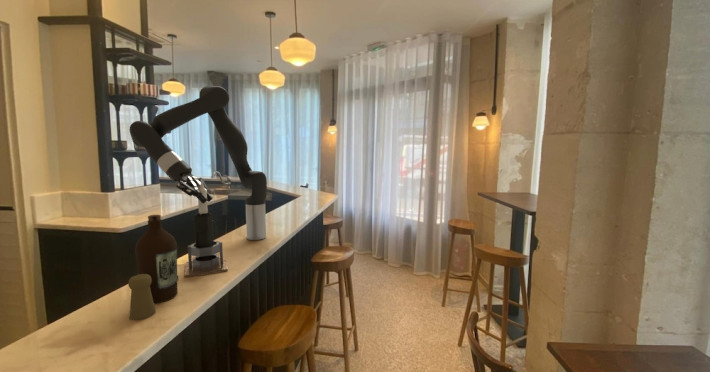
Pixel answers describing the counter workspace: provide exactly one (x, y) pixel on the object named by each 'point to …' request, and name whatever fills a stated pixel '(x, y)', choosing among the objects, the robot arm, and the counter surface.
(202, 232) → the bottle
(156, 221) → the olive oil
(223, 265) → the collar stand
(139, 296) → the cork
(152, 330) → the counter surface
